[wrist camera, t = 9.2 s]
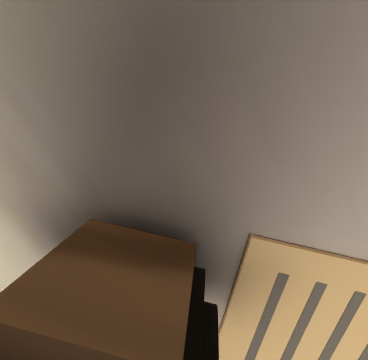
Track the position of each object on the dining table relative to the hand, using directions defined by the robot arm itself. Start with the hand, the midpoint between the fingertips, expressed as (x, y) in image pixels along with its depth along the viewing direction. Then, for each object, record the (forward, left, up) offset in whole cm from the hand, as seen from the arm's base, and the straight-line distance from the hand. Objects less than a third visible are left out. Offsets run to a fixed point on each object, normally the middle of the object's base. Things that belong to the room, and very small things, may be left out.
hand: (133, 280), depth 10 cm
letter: (+4, +10, -1) cm, 11 cm away
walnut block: (0, 0, 0) cm, 0 cm away
